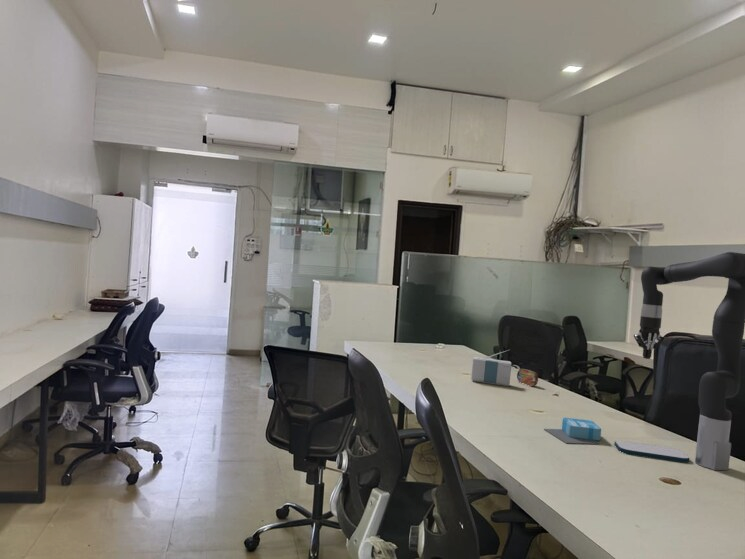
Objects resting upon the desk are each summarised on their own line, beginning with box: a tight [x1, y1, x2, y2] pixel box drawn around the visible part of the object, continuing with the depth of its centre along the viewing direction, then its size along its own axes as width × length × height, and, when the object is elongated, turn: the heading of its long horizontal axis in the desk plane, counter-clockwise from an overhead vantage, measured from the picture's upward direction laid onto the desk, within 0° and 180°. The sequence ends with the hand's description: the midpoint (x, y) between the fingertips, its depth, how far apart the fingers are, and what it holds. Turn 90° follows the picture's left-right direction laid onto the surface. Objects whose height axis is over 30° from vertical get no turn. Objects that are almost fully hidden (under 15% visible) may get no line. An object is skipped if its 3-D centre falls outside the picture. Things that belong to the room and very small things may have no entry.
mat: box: [543, 428, 600, 445], centre depth 203 cm, size 16×14×1 cm
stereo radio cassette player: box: [470, 349, 512, 387], centre depth 292 cm, size 21×8×20 cm, turn 73°
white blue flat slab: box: [614, 439, 690, 464], centre depth 191 cm, size 24×12×2 cm, turn 78°
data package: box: [561, 417, 602, 441], centre depth 206 cm, size 12×4×12 cm
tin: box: [516, 368, 539, 387], centre depth 298 cm, size 15×3×8 cm, turn 25°
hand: (646, 358), depth 211 cm, fingers closed
